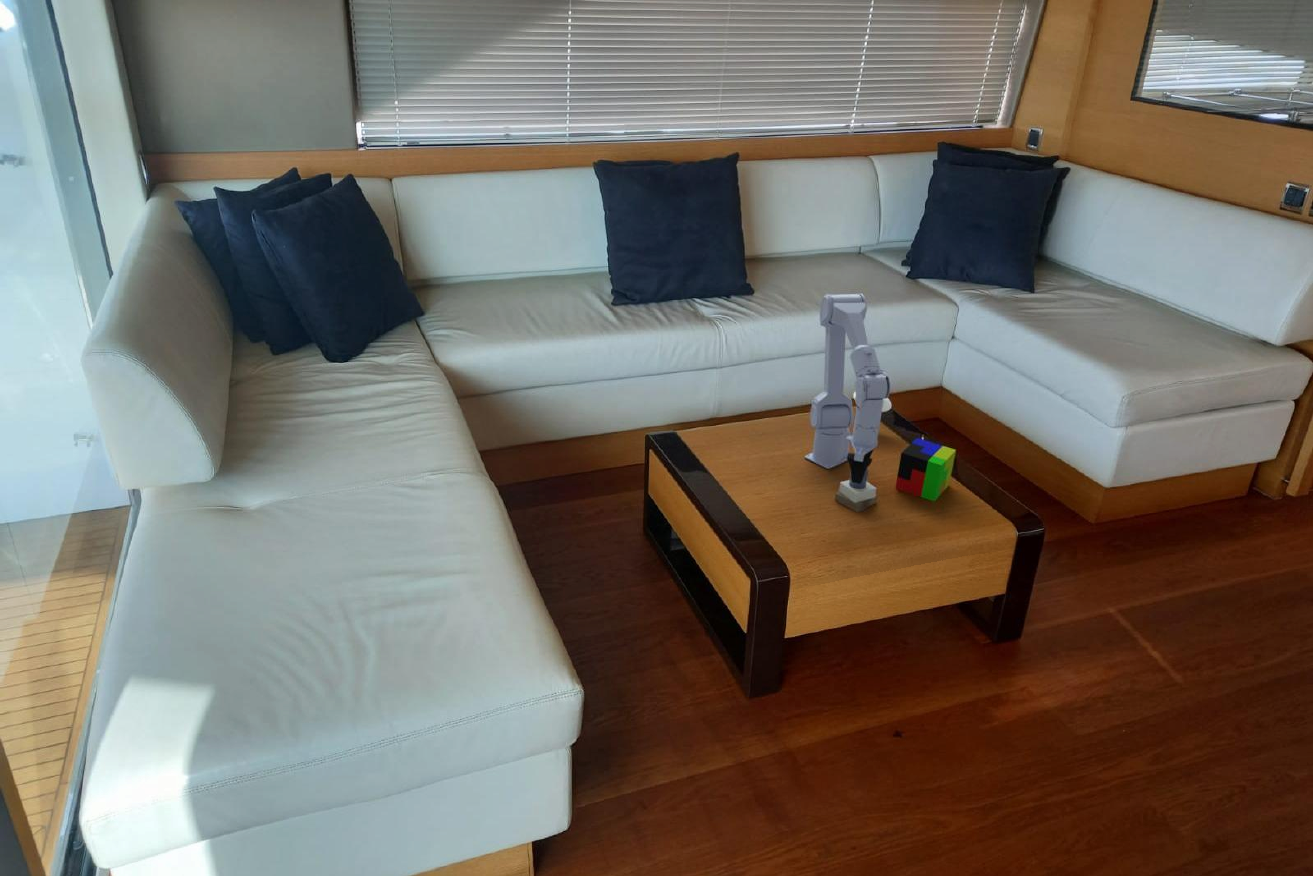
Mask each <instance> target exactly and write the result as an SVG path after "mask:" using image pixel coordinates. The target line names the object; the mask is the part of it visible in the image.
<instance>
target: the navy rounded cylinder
mask: <svg viewBox="0 0 1313 876" xmlns="http://www.w3.org/2000/svg"><path fill="white" fill-rule="evenodd" d="M868 474H869V469H868V468H867V469H866V471H865V474H864V477H863V480H862V482H861V484H859V483H854V482H852V480H851V472H850V473H849V479H848V480H849V485H850V486H851V487H852V488H855V489H863V488H865V487H866V483H867V482H868Z"/></svg>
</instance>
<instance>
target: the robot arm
mask: <svg viewBox="0 0 1313 876" xmlns="http://www.w3.org/2000/svg"><path fill="white" fill-rule="evenodd" d="M867 303H868V302H867V299H866V297H865V295H864V294H863V293H860V292H859V293H852V294H851V293H848V294H846V293H843V294H829V293H826V294H825V295H824V296H823V297H822V299H821V301H820V305H819V306H820V308H819V321H820V322H819V324H820V327H821V326H822V327H824V329H825V339H824V341H825V343H824V344H825V345H824V346H825V347H824V368H823V369H824V371H823V372H824V374H823V390H822V392H820V393H819V394H817V395H816V396H815V397H814V398H812V401H811V408H810V410H809V411H810V413H809V420H810V424H811V426H812V428H813V429H815V431H814V439H813V447H812V452H810V453H809V454H807V455H805V456H804V458H805V459H806V460H808V461H811V462H812V463H815V464H817V465H818V466H821V467H823V468H825V469H828V470H829V469H833V468H834V467H836V466H839V465H841V464H842V463H844V462H848V464H849V468H850V473H851V480H852V482H854V483H859V484H861V482H862V480H863V477H864V474H865V471H866V469H868V468H869V466H870V465H871V464H872V462H873V458H871V456H872V454H873V452H874V450H875V449H876V447H878V444H879V440H878V437H879V431H880V425H881V418H882V413H883V412H882V407H883V399H886V398H888V399H889V396H890V393H891V382H890V377H889V375H888V374H887V373H886V372H885V370H884V369H882V368H881V366H880V363H879V360H878V357H877V353H876V351H875V348H874V347H872V346H869V342H868V337H867V331H866V328H865V318H866V315H867V311H868V309H867V308H868V304H867ZM846 336H847V339H848V341H849V344H850V347H851V349H852V352H851V353H850V356H849V358H850V362H851V364H852V368H853V372H854V374H855V377H856V379H855V380H856V381H855V382H854V392H856V397H855V399H854V401H855V404H856V407H855V409H856V410H855V412H854V410H853V400H852V399H851V398H850V396H848V395H847V394H846V393H844V388H845V387H844V385H845V384H844V381H845V359H846V357H845V356H846V354H845V353H846ZM854 413H855V415H854ZM852 425H853V429H852V433H851V430H850V428H851V427H852ZM851 446H852V447H851ZM850 447H851V448H852V449H853V451H854V453H852V452H850Z"/></svg>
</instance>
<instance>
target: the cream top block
mask: <svg viewBox="0 0 1313 876" xmlns="http://www.w3.org/2000/svg"><path fill="white" fill-rule="evenodd" d="M849 480H850V479H848V480H844V481H840V483H839V489H838V492H841V493H842V494H844V495H845V496H846V497H848V498H849V499H850V500H852V501H853V502H855V503H857V502H860V501H864V500H867V499H871V498H874V497H875V495H877V494H876V492H877V487H875V486H874V485H872V483H870V482H869V481H867V483H866V487H865V488H863V489H855V488H852V487H851V486H850V485H849Z"/></svg>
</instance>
